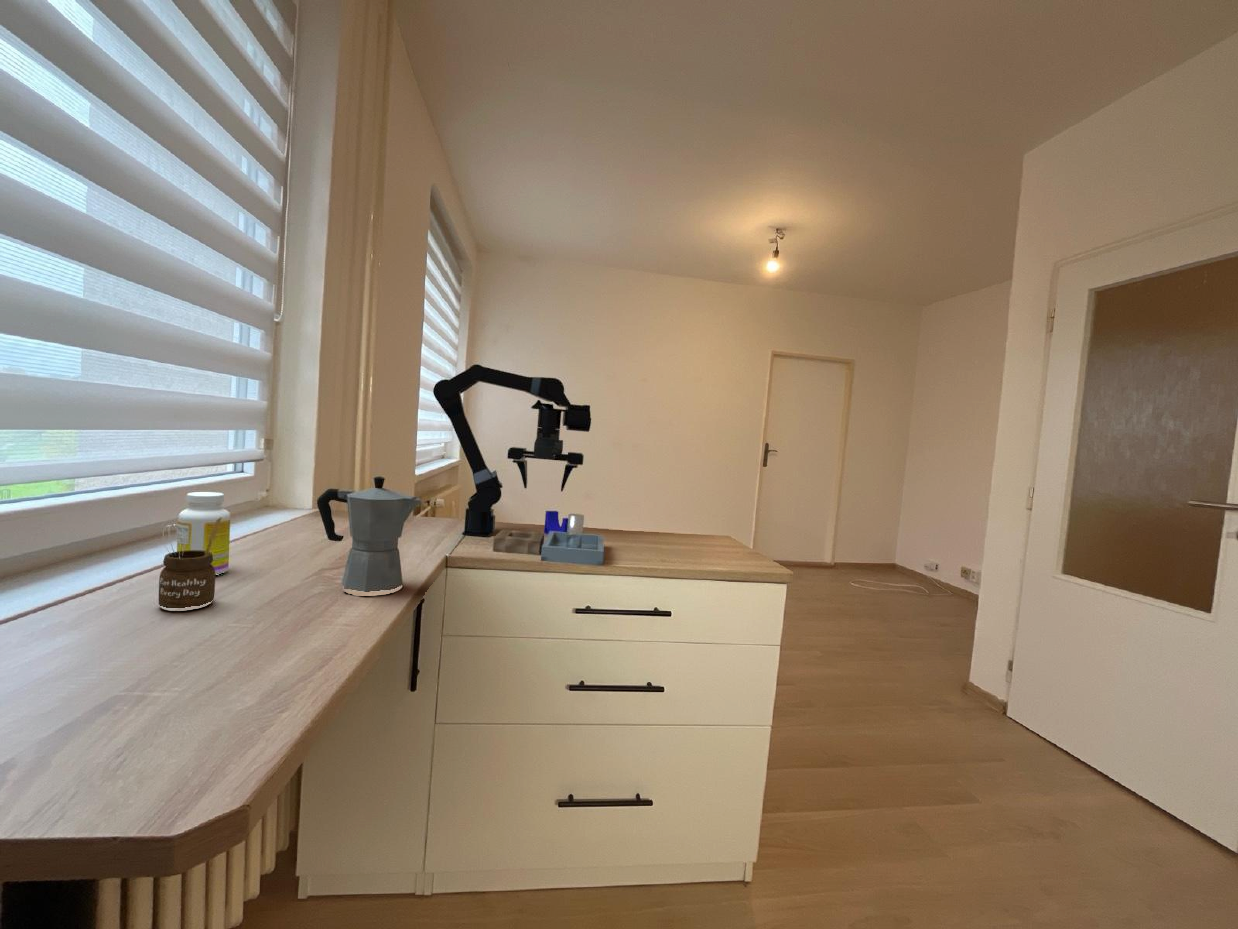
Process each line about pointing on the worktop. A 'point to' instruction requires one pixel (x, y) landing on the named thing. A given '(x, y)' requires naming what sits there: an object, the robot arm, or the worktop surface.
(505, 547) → the socket block
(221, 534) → the supplement bottle
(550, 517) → the cable clip
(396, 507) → the coffeepot
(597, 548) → the tray
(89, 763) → the worktop surface
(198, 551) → the utensil holder
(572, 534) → the silver metal cylinder
